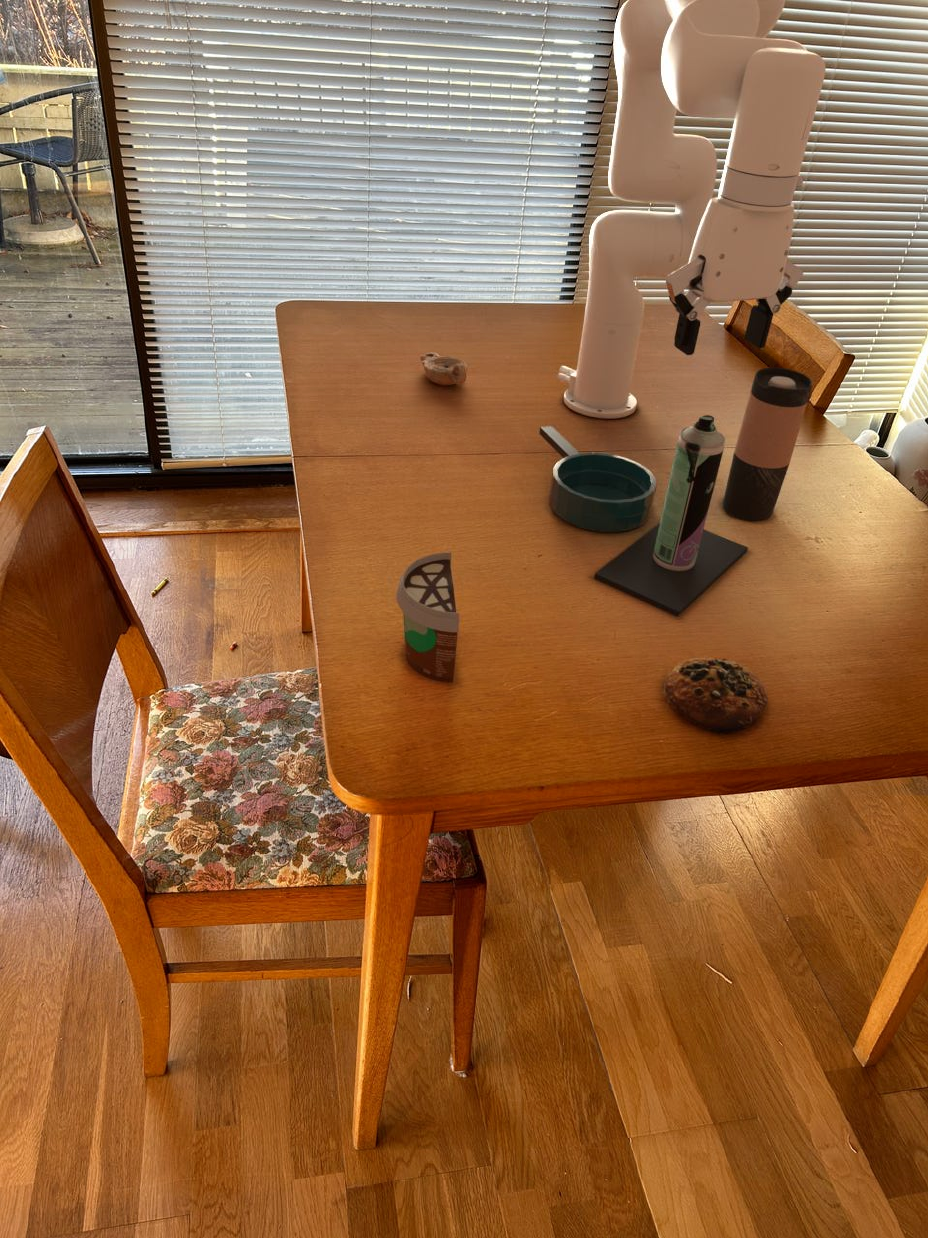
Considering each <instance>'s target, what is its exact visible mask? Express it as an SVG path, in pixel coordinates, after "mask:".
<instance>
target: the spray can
mask: <svg viewBox="0 0 928 1238" xmlns="http://www.w3.org/2000/svg"><path fill="white" fill-rule="evenodd" d="M725 442H726V437H725V436H724V435H723V434H722V433H721V432H720V431H718V429H717V427H716V425H715V417H714V416H713V415H709V414H706V415H705V414H704V415H702V416H700V417H699V418H698V421H696V422H695V423H693V425H692V426H687V427H685V428H683V429H682V430H681V431H680V435H679V436H678V439H677V443H676V448H675V453H674V458H673V462H672V465H671V466H672V467H671V470H670V471H671V472H670V475H669V480H668V485H667V489H666V494H665V499H664V504H663V508H662V513H661V517H660V522H659V523H660V526H659V530H658V535H657V539H656V544H655V548H654V553H653V559H654V561H655V562H656V563H657V564H658V565H660V566H662V567H664V568H666V569H669V570H674V571H684V570H688V569H690V568H692V567H693V566H694V564H695V561H696V557H697V553H698V549H699V545H700V541H701V537H702V533H703V529H704V530H705V526H706V521H707V518H708V513H709V510H710V505H711V501H712V496H713V493H714V490H715V485H716V481H717V477H718V474H719V470H720V466H721V462H722V459H723V454H724V449H725Z"/></svg>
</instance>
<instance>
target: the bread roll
mask: <svg viewBox="0 0 928 1238" xmlns="http://www.w3.org/2000/svg"><path fill="white" fill-rule="evenodd" d="M663 684H664V687H663V690H662V691H663V695H664V697H665V699H666V701H667V703H668V704H669V706H670V707H671V708H672V709H673V711H674V712H676V713H677V714H678V715H680V716H682V717H683V718H684V719H685V720H687V721H689V722H690V723H692V724H695V726H698V727H700V728H703V729H704V730H706V731H709V732H710V733H713V734H718V735H724V734H727V735H729V734H734V733H737V732H741V731H744V730H746V728H749V727H750V726H752V725H753V724H755V723H756V721H757V720H759V718H760V717H761V715H762V714H763V713H764V712H765V710H766V707H767V705H768V701H769V697H768V691H767V689H766V687H765V685H764V684H763V683H762V681H761V680H760V678H759V677H758V676H757V675H755V674H754V673H753V672H752V671H751V670H750V669H749V668H747V667H744V666H743V665H742V664H740V663H739V662H735V661H733V660H730V659H728V658H722V659H718V658H708V657H696V658H695V657H694V658H690V659H685V660H683V661H680V662H678V663H676V665H675V666H674V667H671V668H670V669H669V670H668V671H667V675H666V677H665V678H664V681H663Z"/></svg>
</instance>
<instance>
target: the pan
mask: <svg viewBox="0 0 928 1238" xmlns="http://www.w3.org/2000/svg"><path fill="white" fill-rule="evenodd" d="M656 479H657V478H656V476H655V475H654V474H653V472H652V471H651V470H650V469H649V468H647V467H646V466H644V465H642V464H640V463H639V462H637V461H635V460H633V459H630V458H627V457H625V456H621V455H616V454H611V453H604V452H583V453H580V454H575V455H572V456H568V457H565V458H561V459H560V460H559V461H557V462H556V464H555V465H554V467H553V468H552V474H551V481H550V489H549V497H548V499H549V500H548V501H549V507H550V508H551V509H552V511H553V512H554V513H555V515H557V516H558V517H559V518H561V519H562V520H563V521H565V522H566V523H569V524H571V525H573V526H575V527H578V528H581V529H584V530H588V531H593V532H600V533H619V532H626V531H631V530H633V529H636V528H639V527H641V526H643V524H645V523H647V522H648V521H649V519H650V516H651V515H652V510H653V505H654V501H655V496H656V491H657V487H658V483H657V480H656Z"/></svg>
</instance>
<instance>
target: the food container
mask: <svg viewBox="0 0 928 1238" xmlns="http://www.w3.org/2000/svg"><path fill="white" fill-rule="evenodd" d="M454 588H455V587H454V581H453V574H452V552H438V553H437V552H436V553H432V554H428V555H426V556H423V557H419V558H418V559H416V560H415V561H413V562H411V564H410V565H408V566H407V567H406V569H405V570H404V572H403V574H402V575H401V577H400V579H399V583H398V586H397V590H396V597H395V598H396V603H397V605H398V608H399V609H400V610H401V611H402V612H403V613H402V615H403V616H402V617H403V629H404V630H403V632H404V633H403V634H404V649H405V651H404V652H405V660H406V662H407V664H408V665H409V667H410V668H411V669H412V670H413V671H415V672H416V673H417V674H419V675H420V676H423V677H424V678H427V679H430V680H432V681H437V682H443V683H454V677H455V667H456V656H457V647H458V644H457V643H458V636H459V635H458V633H460V632H459V631H460V612H457V606H456V605H457V604H456V600H455V599H456V597H455V589H454Z"/></svg>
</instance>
